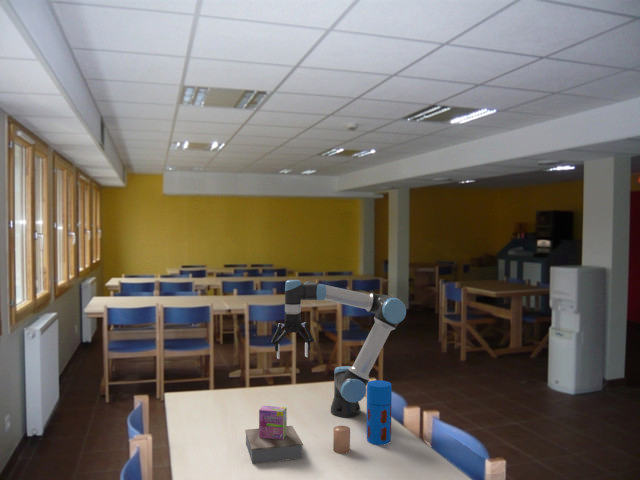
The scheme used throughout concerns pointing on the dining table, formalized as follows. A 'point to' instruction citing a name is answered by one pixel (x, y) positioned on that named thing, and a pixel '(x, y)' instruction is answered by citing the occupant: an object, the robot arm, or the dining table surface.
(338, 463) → the dining table surface
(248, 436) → the podium
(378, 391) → the thermos
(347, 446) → the tan rounded cylinder
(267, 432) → the box
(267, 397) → the dining table surface
